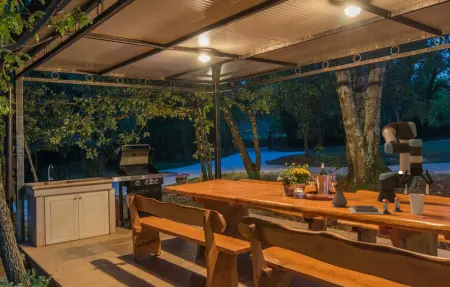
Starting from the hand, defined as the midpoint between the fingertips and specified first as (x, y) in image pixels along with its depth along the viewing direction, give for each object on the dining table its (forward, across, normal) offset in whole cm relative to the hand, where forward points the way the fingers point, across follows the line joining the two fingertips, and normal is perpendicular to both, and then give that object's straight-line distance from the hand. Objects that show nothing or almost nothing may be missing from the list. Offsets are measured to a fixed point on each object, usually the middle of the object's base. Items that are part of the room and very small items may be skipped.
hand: (416, 194), depth 251 cm
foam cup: (+14, 0, 0) cm, 14 cm away
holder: (+13, -32, +6) cm, 35 cm away
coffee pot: (+13, -44, +32) cm, 56 cm away
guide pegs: (+13, -15, +4) cm, 20 cm away
